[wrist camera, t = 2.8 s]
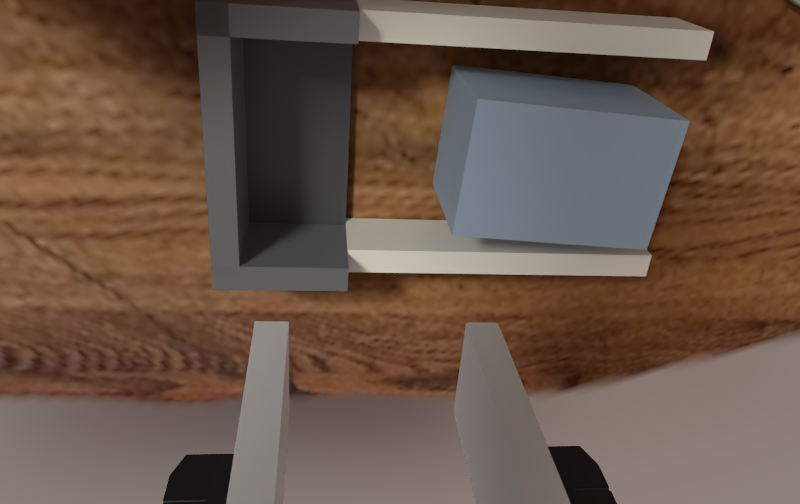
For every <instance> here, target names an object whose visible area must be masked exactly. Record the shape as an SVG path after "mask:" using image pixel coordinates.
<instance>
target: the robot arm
mask: <svg viewBox="0 0 800 504" xmlns="http://www.w3.org/2000/svg"><path fill="white" fill-rule="evenodd" d="M454 416H455V420H456V424H457V428H458V432H459V436H460V440H461V444H462V448H463V452H464V456H465V460H466V464H467V468H468V472H469V476H470V480H471V484H472V488H473V492H474V496H475V499H476V504H617V503H616V501H615V499H614V497H613V494H612V492H611V491H609V486H608V484H607V482H606V480H605V478H604V476H603V474H602V472H601V469H600V468H599V466H598V464H597V463H596V462H595V461H594V460H593V459H592V458H591V457H590V456H589V455H588V454H587V453H586V452H585V451H584V450H583V449H582V448H581V447H580V446H561V447H560V446H559V447H558V446H557V447H548V446H547V444H546V441H545V439H544V436H543V434H542V431H541V429H540V426H539V424H538V421H537V419H536V417H535V414H534V412H533V409H532V407H531V404H530V402H529V399H528V397H527V394H526V392H525V389H524V387H523V384H522V382H521V379H520V377H519V374H518V372H517V369H516V367H515V364H514V362H513V359H512V357H511V355H510V352H509V350H508V347H507V345H506V342H505V340H504V337H503V335H502V332H501V330H500V327H499V325H498V323H466V328H465V335H464V342H463V349H462V356H461V363H460V370H459V377H458V384H457V391H456V398H455V405H454ZM288 422H289V322H264V321H255V324H254V330H253V337H252V343H251V349H250V356H249V362H248V368H247V375H246V381H245V387H244V394H243V400H242V406H241V413H240V419H239V425H238V432H237V438H236V444H235V451H234V454H207V455H206V454H204V455H186V456H185V457H184V459H183V460H182V461H181V462H180V463H179V465H178V466H177V467H176V468H175V470H174V471H173V472H172V473H171V475H170V477H169V481H168V484H167V488H166V492H165V495H164V499H163V504H283V500H284V485H285V470H286V454H287V439H288V438H287V437H288Z"/></svg>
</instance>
